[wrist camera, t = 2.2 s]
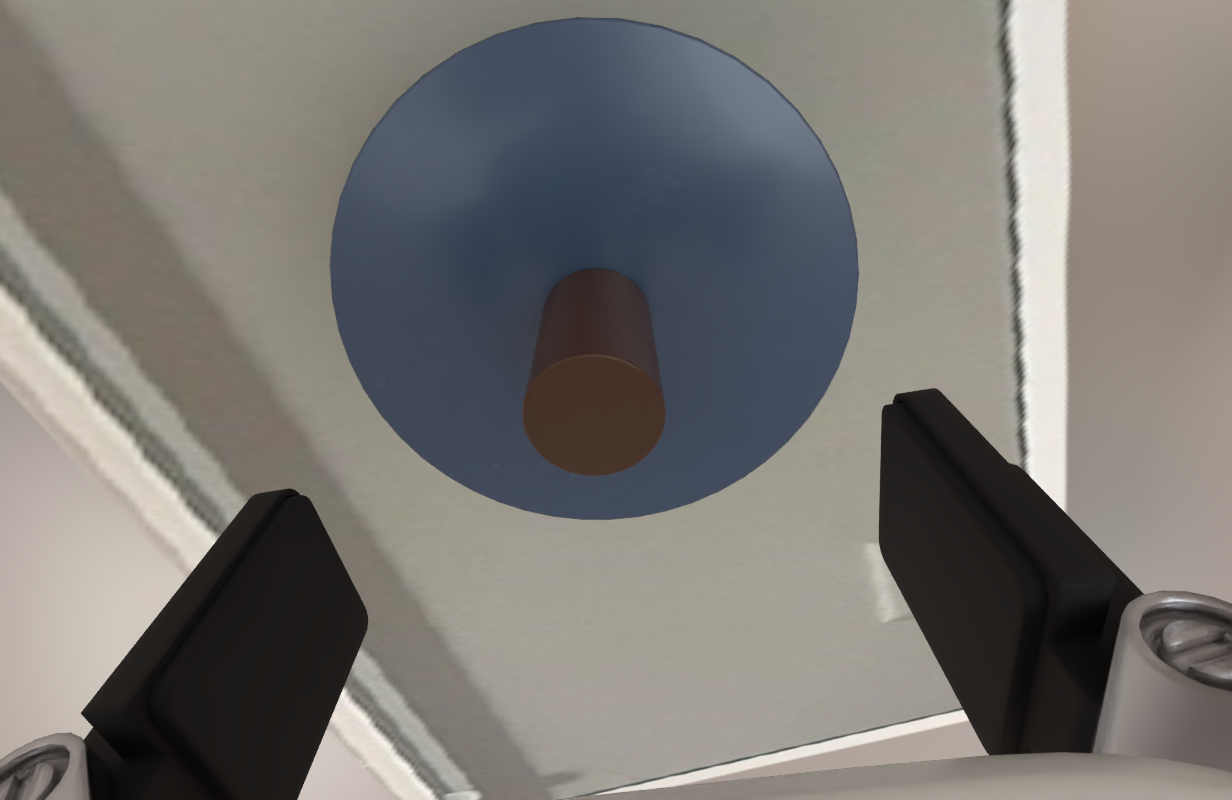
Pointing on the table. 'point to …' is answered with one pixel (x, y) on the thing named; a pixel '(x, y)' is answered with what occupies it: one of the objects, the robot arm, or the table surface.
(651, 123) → the tin lid
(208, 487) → the table surface
